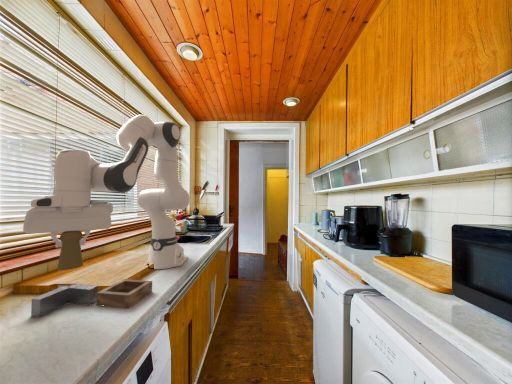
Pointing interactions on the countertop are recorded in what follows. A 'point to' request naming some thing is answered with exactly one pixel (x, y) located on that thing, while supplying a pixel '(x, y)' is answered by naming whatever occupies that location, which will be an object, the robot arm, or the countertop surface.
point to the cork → (70, 250)
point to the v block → (63, 298)
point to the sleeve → (118, 298)
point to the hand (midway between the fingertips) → (71, 245)
